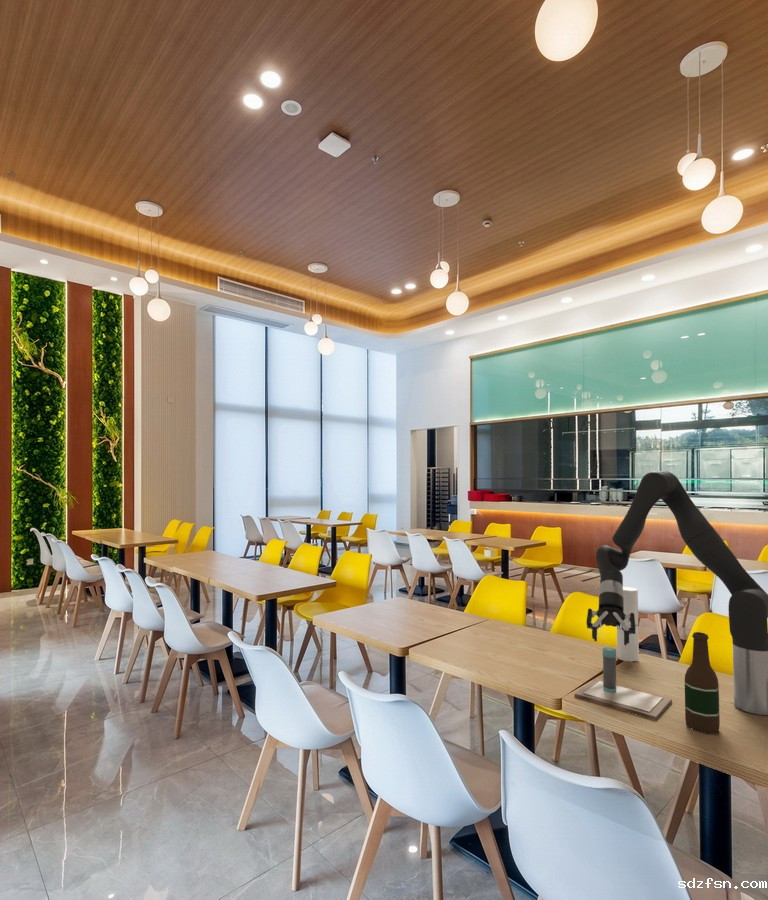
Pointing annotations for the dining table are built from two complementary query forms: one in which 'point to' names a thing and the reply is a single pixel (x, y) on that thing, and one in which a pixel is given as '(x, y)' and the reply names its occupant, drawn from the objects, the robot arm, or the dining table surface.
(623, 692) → the writing board
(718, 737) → the dining table surface
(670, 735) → the dining table surface
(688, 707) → the beer bottle
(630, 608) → the cylindrical container
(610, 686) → the teal-capped glass tube
